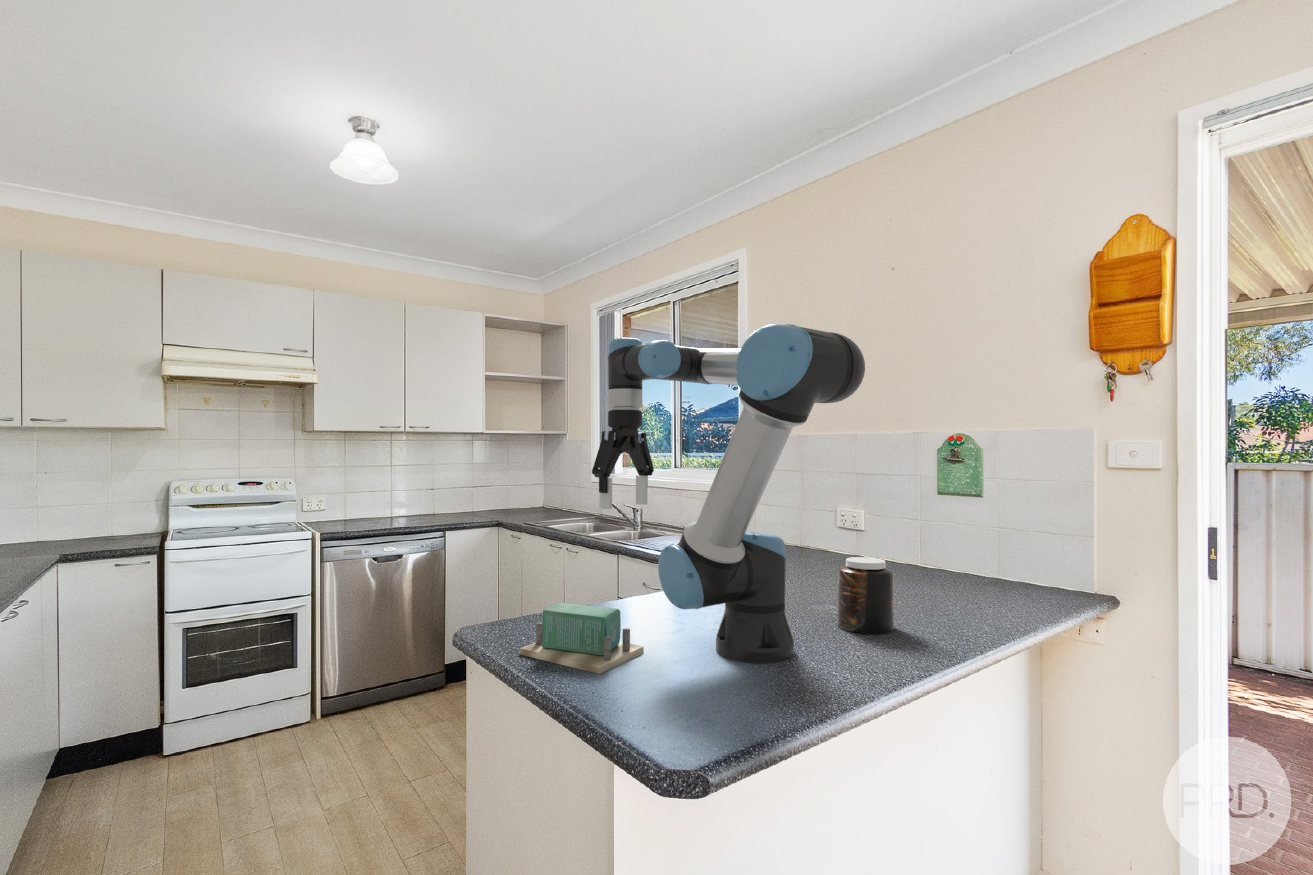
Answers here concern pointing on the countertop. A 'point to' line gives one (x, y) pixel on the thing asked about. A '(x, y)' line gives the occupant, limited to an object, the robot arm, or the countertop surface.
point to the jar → (866, 596)
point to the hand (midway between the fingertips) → (624, 506)
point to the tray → (583, 659)
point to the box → (580, 627)
